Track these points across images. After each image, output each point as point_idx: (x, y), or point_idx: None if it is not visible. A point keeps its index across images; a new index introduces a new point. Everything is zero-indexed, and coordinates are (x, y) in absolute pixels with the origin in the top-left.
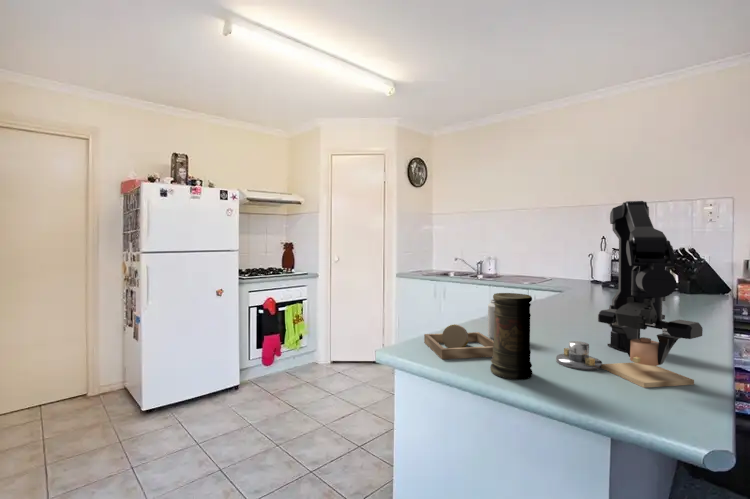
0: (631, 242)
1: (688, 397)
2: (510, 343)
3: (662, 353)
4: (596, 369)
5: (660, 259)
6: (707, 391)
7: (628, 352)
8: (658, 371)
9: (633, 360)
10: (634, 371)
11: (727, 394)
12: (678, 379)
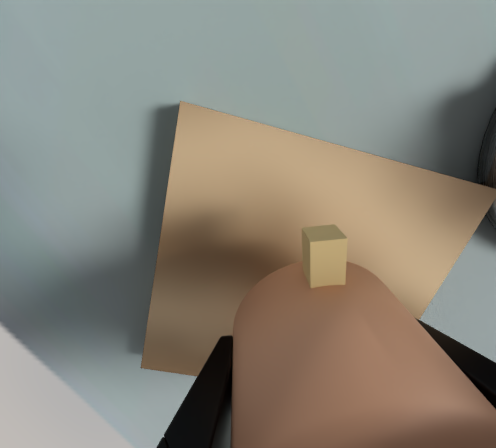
0: None
1: (25, 187)
2: None
3: (180, 411)
4: (490, 127)
5: None
6: (76, 326)
7: (435, 335)
8: None
9: (333, 228)
10: None
11: (37, 356)
12: (163, 320)
